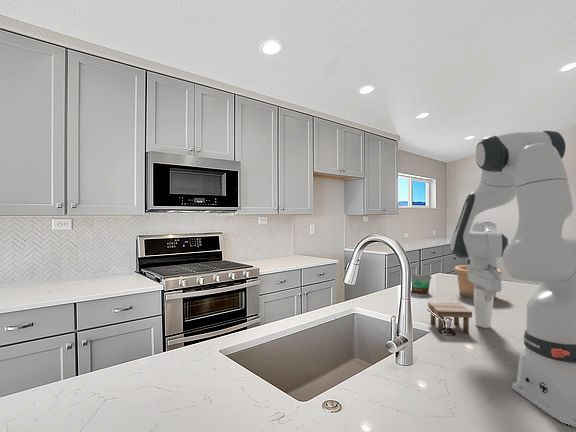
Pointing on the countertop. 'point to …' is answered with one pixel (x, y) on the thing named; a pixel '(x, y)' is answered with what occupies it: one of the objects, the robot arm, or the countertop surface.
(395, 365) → the countertop surface
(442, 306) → the walnut stool
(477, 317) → the drinking glass
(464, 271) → the pottery
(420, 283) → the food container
